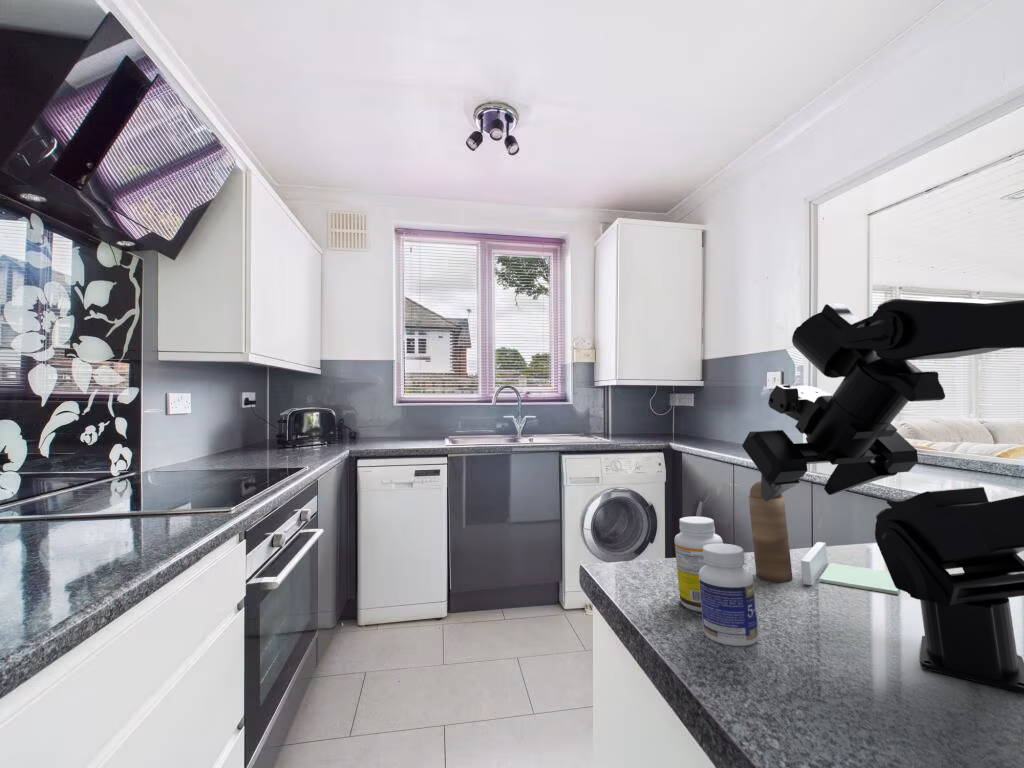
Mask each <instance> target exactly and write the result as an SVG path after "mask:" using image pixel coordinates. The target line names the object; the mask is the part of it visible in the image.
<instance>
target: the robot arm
mask: <svg viewBox="0 0 1024 768" xmlns="http://www.w3.org/2000/svg"><path fill="white" fill-rule="evenodd" d="M791 342H792V346H793V347H794V348H795V349H796V350H797V351H798V352H800V353H801V355H802V356H804V357H805V358H806V359H807V360H808V361H809V362H810V363H811V364H812V365H813V366H814V367H815V368H816V369H817V370H818V371H819V372H820V373H821V374H822V375H824V376H825V377H827V378H831V379H836V378H843V379H842V381H841V382H840V384H839V385H838V386H837V388H836V390H835V391H834V393H833V394H832V393H830V392H829V391H826V390H824V389H821V388H819V387H816V386H812V385H795V386H794V385H789V384H776V386H775V387H774V388H773V389H772V391H771V392H770V394H769V398H768V407H769V409H772V410H774V411H775V412H777V413H779V414H780V415H781V414H782V415H783V414H785V415H786V416H788V417H789V418H791V419H792V420H795V421H797V423H796V424H795V429H796V430H797V431H798V432H799V433H800V434H805V435H806V438H805V440H806V442H800V443H799V442H798V443H794V441H793V440H791V438H790V437H789V436H788V434H787V433H786V432H785V431H784V430H783V429H769V430H755V431H749V432H748V434H747V435H746V437H745V439H744V441H743V443H742V445H741V446H742V448H743V450H744V451H745V452H746V453H747V455H748V456H749V458H750V459H751V461H752V462H753V464H754V465H755V466H756V468H757V469H758V471H759V472H760V474H761V479H760V481H761V496H762V497H763V499H764V500H765V501H768V500H770V499H772V498H774V497H776V496H778V495H779V494H781V493H782V494H783V493H784V492H787V490H790V489H792V488H793V487H795V486H797V485H799V483H800V480H799V479H801V478H803V477H804V476H805V475H806V473H807V472H808V465H811V464H812V465H813V464H825V463H830V464H831V465H832V466H833V465H834V466H835V465H836V466H835V468H834V469H833V471H832V473H831V474H830V476H829V477H828V479H827V480H826V483H825V485H824V487H823V489H824V491H825V492H826V494H827V495H829V496H832V495H836V494H839V493H842V492H845V491H848V490H851V489H853V488H857V487H859V486H863V485H866V484H869V483H872V482H876V481H879V480H882V479H886V478H888V477H894V476H896V475H898V473H908V472H910V471H911V470H912V469H913V468H914V467H915V466H916V464H918V463H919V456H918V450H917V449H916V448H915V447H914V446H913V445H912V444H911V443H910V442H909V441H908V440H906V438H905V437H903V436H902V435H901V434H900V433H899V432H898V428H896V427H895V426H894V425H893V424H892V422H893V421H894V420H895V418H896V417H897V416H898V414H900V412H901V411H902V410H903V409H904V408H905V406H906V405H907V404H908V403H909V402H912V403H913V402H929V401H930V402H931V401H943V400H944V399H945V398H946V393H945V390H944V387H943V386H942V384H941V382H940V380H939V379H940V378H939V376H940V375H939V372H938V371H934V370H933V371H922V370H921V369H919V368H918V367H917V366H915V364H913V363H911V362H910V361H914V360H915V361H917V360H943V359H944V360H945V359H954V358H962V357H967V356H975V355H982V354H987V353H993V352H996V351H997V352H998V351H1001V350H1007V349H1023V348H1024V299H1022V300H1011V301H1001V300H992V299H979V298H977V299H976V298H962V297H961V298H960V297H933V298H930V297H925V298H924V297H923V298H892V299H889V300H885V301H883V302H881V303H880V304H878V306H877V308H876V310H875V312H874V313H873V314H872V315H871V316H868V317H866V318H864V319H860V318H859V317H857V316H856V315H855V314H853V313H852V312H851V310H850V309H849V308H848V307H847V306H845V304H843V303H828V304H824V306H823V308H822V310H821V311H820V312H818V313H816V314H813V315H812V316H810V317H808V318H807V319H806V320H805V321H803V322H802V323H801V324H800V325H799V326H797V327H795V330H794V331H793V334H792V336H791ZM886 504H887V505H888V506H889V507H887V508H884V509H882V510H880V511H879V512H878V513H877V514H876V516H875V519H876V523H875V529H874V530H875V531H874V538H875V539H874V540H875V542H876V544H877V547H878V548H879V551H880V554H881V557H882V559H883V561H884V564H885V566H886V568H887V571H889V573H890V576H891V578H892V580H893V583H894V585H895V587H896V588H897V589H899V591H903V592H906V593H907V594H909V596H910V598H912V599H915V600H918V601H920V609H921V615H922V623H923V631H924V635H922V636H921V642H920V653H919V665H920V667H921V668H922V669H925V670H929V671H931V672H932V671H933V672H936V673H941V674H945V675H949V676H953V677H956V678H962V679H964V680H965V679H966V680H969V681H974V682H977V683H981V684H985V685H990V686H994V687H998V688H1002V689H1007V690H1011V691H1015V692H1018V693H1023V694H1024V659H1023V657H1022V656H1021V655H1019V654H1018V652H1017V645H1016V638H1015V631H1014V625H1013V618H1012V610H1011V605H1010V604H1011V603H1010V598H1017V597H1024V559H1023V558H1022V557H1020V556H1019V555H1018V554H1020V553H1022V552H1023V551H1024V494H1023V495H1017V496H1013V497H1008V498H1003V499H1002V498H1001V499H999V500H998V499H997V500H994V501H989V498H988V496H987V493H986V490H985V488H984V486H973V487H972V486H971V487H963V488H961V487H960V488H950V489H939V490H928V491H927V490H926V491H924V492H921V493H919V494H916V495H913V496H912V497H909V498H897V499H887V500H886ZM954 569H962V570H963V572H960V573H959V572H958V573H952V574H950V572H949V571H948V570H954Z"/></svg>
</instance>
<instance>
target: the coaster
mask: <svg viewBox="0 0 1024 768" xmlns="http://www.w3.org/2000/svg"><path fill="white" fill-rule="evenodd" d="M823 571H824V572H823V573H821V576H819V582H820V583H825V584H831V585H836V586H837V585H838V586H844V587H850V588H855V589H861V590H867V591H872V592H873V591H874V592H880V593H885V594H886V593H887V594H890V595H899V593H900V590H899V589H897V588H896V587H895V585H894V583H893V580H892V578H891V576H890V573H889V571H888V570H882V569H875V568H874V569H873V568H869V567H862V566H854V565H847V564H840V563H832V562H829V563H828V565H827V566H826V568H825V570H823Z"/></svg>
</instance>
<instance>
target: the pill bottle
mask: <svg viewBox="0 0 1024 768" xmlns="http://www.w3.org/2000/svg"><path fill="white" fill-rule="evenodd" d="M744 552H745V551H744V549H743V547H741V546H740V545H737V544H736V545H735V544H732V543H731V544H730V543H723V544H721V543H717V544H708V545H705V546H703V558H704V562H706V565H705V566H703V567H702V568H701V569H700V570H699V584H700V595H701V607H702V612H701V618H702V619H701V620H702V629H703V633H704V634H705V635H706V636H707V637H708V639H710V640H712V641H713V642H716V643H719V644H721V645H727V646H731V647H745V646H746V647H747V646H751V645H753V644H756V642H758V640H759V636H760V635H759V626H758V619H757V618H758V616H757V607H756V606H757V605H756V595H755V586H754V585H755V584H754V578H753V577H754V576H753V575H752V573H751V572H750V571H749V570H748V569H746V568H745V567H744V565H745V564H746V562H745V561H746V559H745V553H744Z"/></svg>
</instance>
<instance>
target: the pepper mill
mask: <svg viewBox="0 0 1024 768" xmlns="http://www.w3.org/2000/svg"><path fill="white" fill-rule="evenodd" d="M785 502H786V501H785V496H784V495H783V493H781V494H779V495H778V496H776V497H774V498H772V499H770V500H768V501H765V500H764V499H763V497H762V496H761V480H760V481H756V482H755V483H754V484H753V485H752V486H751V487H750V490H749V495H748V506H749V514H750V526H751V536H752V543H753V544H752V545H753V554H754V565H755V574H756V575H755V576H756V577H757V578H759V579H760V580H763V581H766V582H767V581H768V582H772V583H788V582H791V581H792V580H794V579H793V577H794V576H793V570H792V560H791V550H790V542H789V533H788V532H789V531H788V524H787V523H788V522H787V513H786V504H785Z"/></svg>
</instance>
